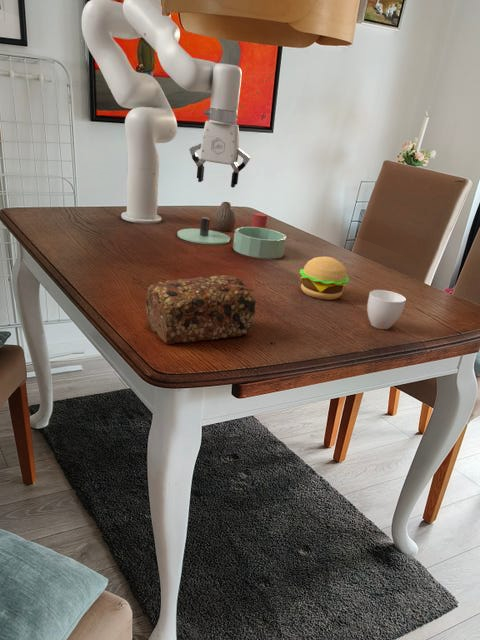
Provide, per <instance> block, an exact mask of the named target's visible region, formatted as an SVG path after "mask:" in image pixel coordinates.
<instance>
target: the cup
mask: <svg viewBox="0 0 480 640" xmlns="http://www.w3.org/2000/svg"><path fill="white" fill-rule="evenodd" d="M406 302H407V298H406V297H405V296H404V295H402V294H400V293H398V292H394V291H390V290H386V289H372V290H371V291H370V292H369V294H368V298H367V304H366V311H367V318H368V321H369V323H370V325H371V326H372V327H373V328H376V329H380V330H389V329H390V328H391V327H392V326H394V325H395V324H396V322H397V321H398V320H399V319H400V317H401V316H402V314H403V311H404V308H405V307H406Z"/></svg>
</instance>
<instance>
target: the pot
mask: <svg viewBox="0 0 480 640" xmlns="http://www.w3.org/2000/svg"><path fill="white" fill-rule="evenodd" d="M287 238H288V237H287V235H286V234H285V233H283V232H280V231H277V230H274V229H270V228H266V229H265V228H259V227H252V226H240V227H236V228H235V229H234V236H233V243H232V248H233V250H234V251H235V252H236V253H238V254H241V255H243V256H244V255H245V256H247V257H253V258H257V259H268V260H269V259H281V258H283V256H284V255H285V250H286V244H287Z"/></svg>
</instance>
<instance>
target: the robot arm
mask: <svg viewBox="0 0 480 640" xmlns="http://www.w3.org/2000/svg"><path fill="white" fill-rule="evenodd" d="M81 31H82V36H83V40H84V42H85V44H86V46H87V49H88V51H89V52H90V54H91V56H92V58H93V59H94V60H95V62H96V64H97V66H98V68H99V70H100V71H101V72H100V73H101V74H102V77H103V78H104V81H105V82H106V84H107V87H108V88H109V90H110V93H111V94H112V96H113V98H114V100H115V101H116V103H117V104H118V105H119V106H120V107H122V108H125V109H128V110H129V109H131V110H130V111H128V113H127V114H126V116H125V119H124V133H125V137H126V138H125V139H126V150H127V154H126V155H127V159H126V161H127V162H126V163H127V166H126V168H127V169H126V211H124V212H121V213H120V214H121V215H120V216H121V217H120V218H121V219H122V220H124V221H126V222H130V223H142V224H143V223H144V224H156V223H160V222H161V221H162V220H163V219H162V216H160V215H158V209H159V204H158V196H159V177H160V176H159V175H160V156H159V152H158V148H157V144H166V143H170V142H172V141H173V140H174V139H175V137H176V135H177V133H178V123H177V118H176V115H175V113H174V111H173V109H172V107H171V105H170V103H169V101H168V99H167V97H166V95H165V92H164V90H163V89H162V86H161V85H160V83H159V82H158V81H157V79H156V78H155V77H153V76H152V75H150V74H149V73H144V72H139V71H136V70H135V69H134V68H133V66H132V65H131V62H130V61H129V59H128V57H127V55H126V53H125V51H124V50H123V48H122V47H121V46H120V45H119V43H117V41H116V40H115V39H114V38H116V39H122V40H136V39H140V38H143V39H144V40H145V41H146V43H147V44H149V46H150V47H151V48H152V49H153V50H154V51H155V52H156V53H157V54H156V55H157V58H158V61H159V63H160V66H161V68H162V70H164V72H165V73H166V74H167V75H168V76H169V77H170V78H171V79H172V80H173V81H174V83H175V84H177V85H178V86H179V87H180V88H182V89H184V90H185V91H187V92H195V93H204V94H210V104H209V108H208V109H204V111H203V112H204V113H203V114H204V116H206V117H208V120H205V123H204V126H203V130H202V131H203V132H202V138H201V143H198V144H195V145H193V146H191V147H189V149H188V151H189V153H190V155H191V159H192V160H193V162H194V164H195V165H196V170H197V171H196V179H197V182H198V183H202V182H203V181H204V175H205V166H204V164H205V163H206V162H210V163H215V164H221V165H230V166H231V168H232V170H233V172H232V173H231V182H230V188H235V187H236V185H238V183H239V182H238V181H239V174H240V172H241V171H242V170H243V169H244V168H246V167H247V165H248V163H249V162H250V160H251V157H250V156H249V155H248V154H247V153H245V151H243V150H242V149H241V148H240V128H239V126H240V125H239V124H237V122H238V111H239V103H240V94H241V84H242V74H243V73H242V69H241V68H240V66H238V65H235V64H229V63H218V62H215V61H211V60H206V59H201V58H195V57H192V56H191V55H190V54H189V53H188V52H187V51H186V50H185V49H184V48H183V47H182V46H181V45H180V44H179V41H180V37H181V30H180V27H179V26H178V25H177V23H176V22H175V21H173V19H172V14H170V15H169V16H163V15H162V6H161V0H123V2H118V1H117V0H116V1H115V0H89V1H87V3H86V4H85V5H84V6H83V10H82V13H81ZM198 150H200V151H199V156H198V154H197V151H198ZM239 157H241V158H242V159H243V160H242V161H241V163H240V164H239V163H238V159H239Z"/></svg>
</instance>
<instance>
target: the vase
mask: <svg viewBox="0 0 480 640" xmlns="http://www.w3.org/2000/svg"><path fill="white" fill-rule="evenodd" d="M213 226H214V228H215V230H216V231H218V232H226V233H227V232H228V233H229V232H231V231H233V229H234V228H235V226H236V213H235V211H234V209H233V207H232V204H231V202H229V201H222V202H221V204H220V206H218V207H217V209H216V210H215V212H214V214H213Z"/></svg>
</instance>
